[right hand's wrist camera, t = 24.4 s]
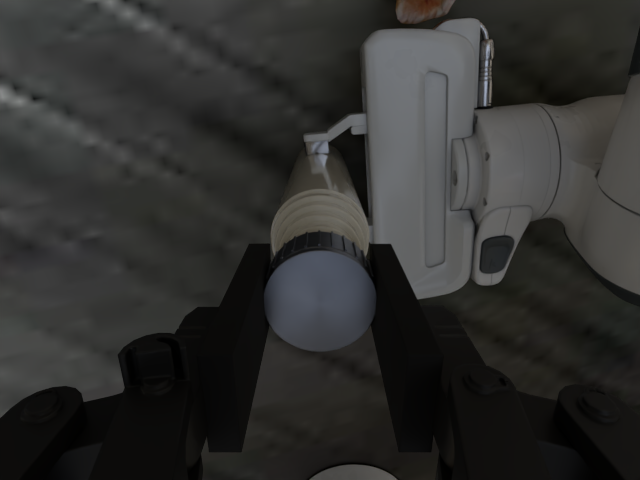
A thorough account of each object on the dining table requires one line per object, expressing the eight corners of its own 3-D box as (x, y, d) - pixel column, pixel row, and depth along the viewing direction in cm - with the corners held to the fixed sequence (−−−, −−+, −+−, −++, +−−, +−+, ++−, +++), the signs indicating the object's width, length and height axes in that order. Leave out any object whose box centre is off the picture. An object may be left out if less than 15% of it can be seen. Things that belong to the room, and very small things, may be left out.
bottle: (323, 131, 35) (330, 198, 12) (356, 172, 36) (416, 301, 14) (283, 165, 36) (222, 284, 13) (316, 204, 37) (311, 372, 15)
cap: (376, 231, 14) (385, 251, 12) (367, 325, 15) (373, 355, 13) (267, 226, 14) (260, 246, 12) (268, 321, 15) (261, 351, 13)
